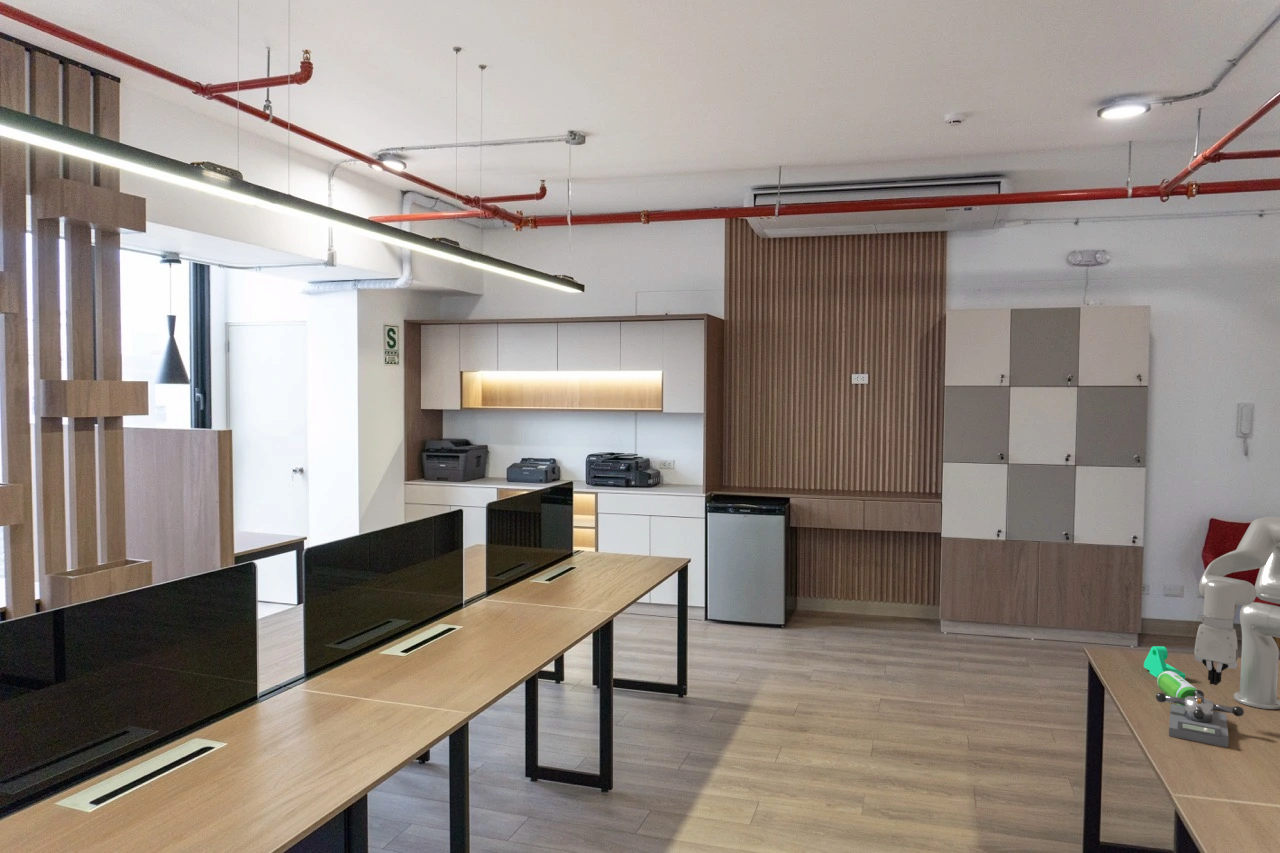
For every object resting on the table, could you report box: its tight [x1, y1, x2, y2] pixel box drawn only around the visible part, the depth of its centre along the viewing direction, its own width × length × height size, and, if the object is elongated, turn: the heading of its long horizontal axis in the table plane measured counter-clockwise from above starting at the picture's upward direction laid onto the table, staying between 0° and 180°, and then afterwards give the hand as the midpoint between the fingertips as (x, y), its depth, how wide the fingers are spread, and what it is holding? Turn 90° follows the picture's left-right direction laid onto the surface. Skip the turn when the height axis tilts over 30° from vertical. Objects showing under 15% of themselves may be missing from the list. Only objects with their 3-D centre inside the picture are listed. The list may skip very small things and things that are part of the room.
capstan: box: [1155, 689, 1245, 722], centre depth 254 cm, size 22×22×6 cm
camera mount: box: [1143, 645, 1186, 680], centre depth 297 cm, size 12×8×10 cm, turn 179°
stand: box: [1168, 703, 1229, 748], centre depth 251 cm, size 22×14×5 cm, turn 147°
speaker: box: [1156, 671, 1199, 706], centre depth 273 cm, size 18×7×8 cm, turn 170°
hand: (1214, 683), depth 257 cm, fingers closed
